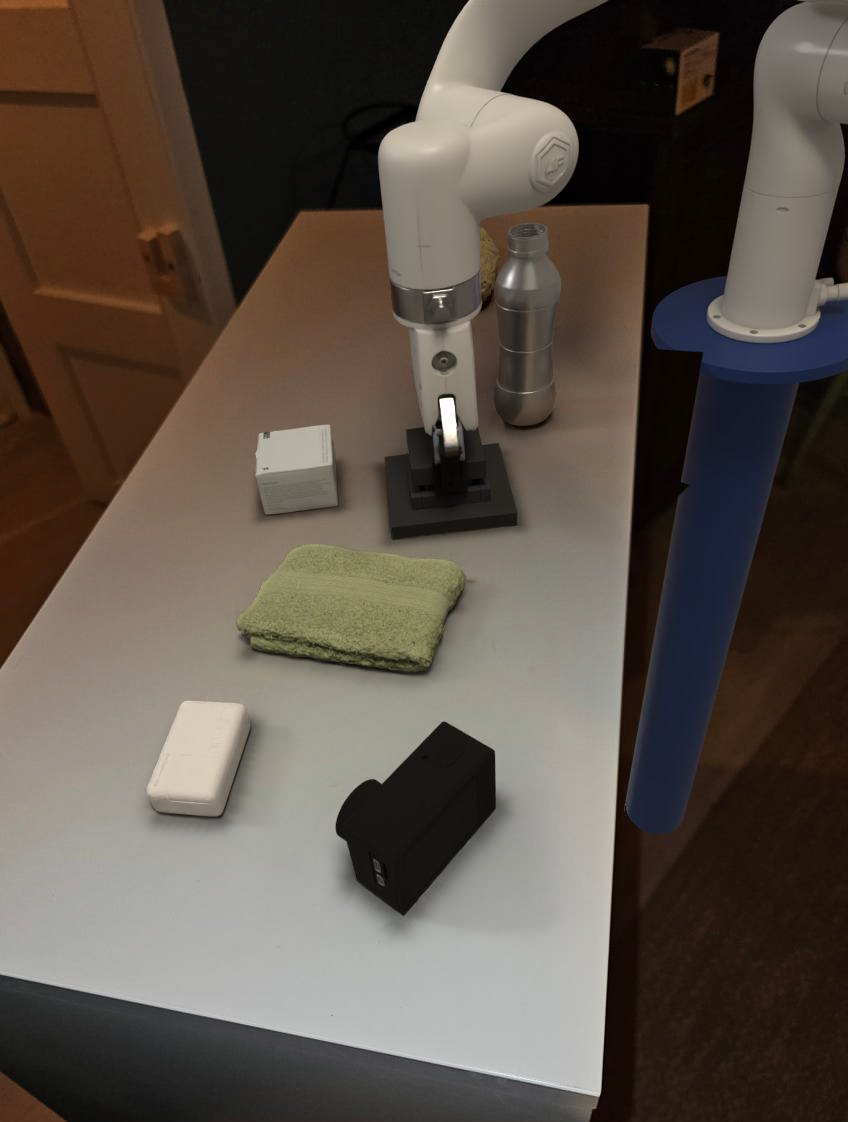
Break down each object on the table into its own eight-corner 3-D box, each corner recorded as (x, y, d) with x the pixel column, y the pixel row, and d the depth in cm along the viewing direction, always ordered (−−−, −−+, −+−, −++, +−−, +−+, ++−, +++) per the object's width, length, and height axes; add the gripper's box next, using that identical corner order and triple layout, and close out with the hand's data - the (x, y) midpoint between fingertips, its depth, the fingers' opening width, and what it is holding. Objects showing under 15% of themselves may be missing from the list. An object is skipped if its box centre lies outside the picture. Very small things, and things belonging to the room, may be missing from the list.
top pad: (477, 454, 88) (476, 420, 85) (486, 495, 83) (486, 460, 80) (409, 462, 88) (405, 428, 85) (414, 503, 83) (411, 469, 80)
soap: (190, 720, 70) (180, 696, 68) (254, 724, 69) (246, 699, 67) (153, 815, 64) (140, 792, 62) (223, 821, 63) (213, 797, 60)
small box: (339, 507, 87) (332, 464, 84) (263, 516, 88) (253, 475, 84) (337, 463, 93) (331, 422, 89) (266, 472, 93) (256, 431, 90)
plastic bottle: (493, 403, 98) (491, 220, 84) (554, 400, 97) (562, 214, 82) (493, 434, 93) (490, 246, 79) (556, 432, 92) (565, 241, 78)
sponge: (499, 320, 114) (511, 230, 124) (486, 269, 108) (499, 178, 118) (406, 337, 119) (424, 249, 129) (388, 289, 113) (409, 200, 123)
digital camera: (436, 769, 64) (430, 709, 59) (497, 807, 61) (496, 747, 56) (342, 870, 59) (326, 814, 54) (403, 916, 56) (393, 861, 51)
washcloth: (293, 554, 83) (287, 528, 81) (471, 581, 77) (470, 554, 75) (233, 650, 75) (225, 624, 72) (427, 688, 69) (424, 661, 67)
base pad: (499, 454, 91) (498, 429, 88) (517, 524, 82) (517, 499, 80) (385, 468, 91) (382, 444, 89) (392, 539, 83) (389, 514, 81)
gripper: (495, 335, 66) (498, 519, 78) (468, 246, 78) (473, 418, 90) (398, 347, 66) (415, 529, 79) (385, 257, 78) (403, 427, 91)
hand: (446, 468), depth 85 cm, fingers closed on top pad, 7 cm apart
